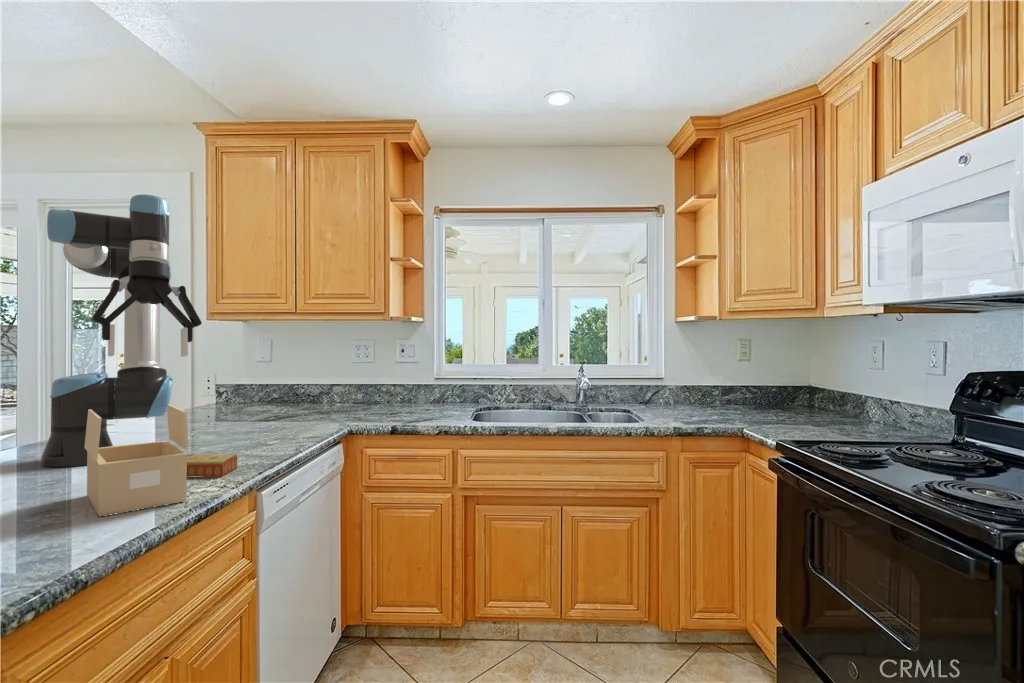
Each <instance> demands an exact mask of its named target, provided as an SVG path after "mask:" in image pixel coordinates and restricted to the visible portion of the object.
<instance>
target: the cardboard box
mask: <svg viewBox="0 0 1024 683" xmlns="http://www.w3.org/2000/svg"><path fill="white" fill-rule="evenodd" d="M187 455H188V453H186V452H184V451H183V450H182V449H181V448H178V447H177V446H176V445H174V444H173V443H171V442H170V441H168V440H158V441H150V442H140V443H131V444H121V445H113V446H110V447H101V448H99V450H98V460H96V461H94V460H93V458H92V457H91V456H90V454H89V453H88V452H87V465H86V468H87V469H86V497H87V499H88V498H89V499H88V500H90V501H89V502H90V504H91V506H92V508H93V507H94V508H93V510H94V509H95V510H94V511H96V512H95V513H96V515H97V514H98V515H97V517H98V516H99V517H100V518H102V517H101V516H105V515H110V514H115V513H122V514H124V513H123V512H127V511H133V510H137V509H142V508H143V509H144V508H149V507H154V506H160V505H165V504H171V503H177V504H180V503H179V502H183V503H185V502H184V501H186V502H187V485H188V484H187V482H188V481H187V479H188V477H187ZM149 509H150V508H149ZM144 510H145V509H144ZM133 512H134V511H133ZM127 513H128V512H127ZM99 517H98V518H99ZM105 517H106V516H105Z"/></svg>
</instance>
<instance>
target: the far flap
mask: <svg viewBox="0 0 1024 683" xmlns="http://www.w3.org/2000/svg"><path fill="white" fill-rule="evenodd" d="M166 414H167V425H168V426H167V427H168V428H167V429H168V439H169V440H170V441H172V442H173V443H175V444H177V445H178V446H179V447H181V448H182V449H184V450H189V449H190V448H189V447H190V446H189V434H188V432H189V431H188V418H187V415H188V414H187V411H186V410H183V409H181V408H180V407H177V406H175V405H173V404H170V403H169V404H167V412H166Z"/></svg>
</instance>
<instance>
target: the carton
mask: <svg viewBox="0 0 1024 683" xmlns="http://www.w3.org/2000/svg"><path fill="white" fill-rule="evenodd" d="M237 469H238V455H237V454H233V453H232V454H228V453H227V454H187V476H204V477H203V478H221V477H220V476H224V477H226V476H227V475H229V474H231V473H233V472H234V471H236V470H237ZM230 472H231V473H230ZM228 473H229V474H228ZM225 475H226V476H225ZM205 476H206V477H205Z"/></svg>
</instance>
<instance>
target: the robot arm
mask: <svg viewBox="0 0 1024 683" xmlns="http://www.w3.org/2000/svg"><path fill="white" fill-rule="evenodd" d="M129 200H130V201H129V208H128V210H129V217H124V216H123V217H122V216H118V215H117V216H115V215H107V214H99V213H92V212H85V211H76V210H75V211H74V210H71V209H57V208H53V209H50V210H49V211H48V212H47V217H46V218H47V219H46V232H47V234H46V235H47V239H48V240H49V241H50V242H53V243H57V244H63V246H62V247H63V248H62V252H63V255H64V258H65V259H66V261H67V262H68V263H69V264H70V265H72V266H73V267H75V268H77V269H78V270H80V271H81V272H85V273H87V274H90V275H93V276H97V277H101V278H110V279H112V278H113V281H112V282H111V284H110V287H109V288H110V289H109V292H108V294H107V295H106V297H105V298H104V299H103V301H102V303H101V304H100V305H99V307H98V308H97V310H96V311H95V312H94V314H92V316H91V320H90V321H91V322H92V323H96V324H99V325H101V339H102V340H103V341H107V357H113V356H115V354H116V353H115V352H116V351H115V347H116V346H115V344H116V341H115V339H116V334H115V333H116V324H115V323H113V324H111V323H112V322H113V321H114V320H115V319H116V318H118V317H119V316H120V315H121V314H122V313H124V322H123V324H124V328H123V330H124V336H123V337H124V340H123V342H124V344H123V345H124V348H123V351H124V353H123V357H124V358H123V366H122V367H120V368H119V369H118V370H117V372H116V373H117V376H116V377H115V376H114V377H109V374H108V373H107V372H106V371H105V372H101V371H100V372H92V373H83V374H77V375H68V376H63V377H59V378H57V379H55V380H54V381H53V382H52V384H51V393H50V395H49V397H50V399H51V405H50V406H51V407H50V409H51V411H50V435H49V438H48V440H47V442H46V445H45V448H44V450H43V452H42V454H41V459H40V460H41V466H43V467H48V468H67V467H80V466H87V450H86V449H85V448H84V447H85V437H86V427H87V417H88V409H91V410H93V411H94V412H95V413H96V414H97V415H98V416H100V417H101V418H102V420H101V430H100V440H99V448H101V447H110V446H114V445H113V442H112V440H111V437H110V435H109V433H108V425H107V424H108V421H109V420H124V419H125V420H126V419H141V418H143V419H145V418H146V419H149V418H156V417H162V416H165V415H166V414H167V404H170V403H171V402H170V401H171V395H172V389H173V379H174V378H173V376H171V375H167V372H168V371H167V369H166V368H165V367H164V366H163V365H161V319H160V318H161V312H160V311H161V310H160V309H161V308H160V306H162V307H163V308H165V309H166V310H167V311H168V312H169V313H170V314H171V315H172V316H173V317H174V318H175V319H176V320H177V322H178V323H180V325H182V327H183V328H181V329H180V357H181V358H184V357H187V356H188V353H189V352H188V351H189V348H188V346H189V344H188V343H191V342H193V339H194V338H193V330H194V329H193V328H197V327H199V326H201V324H202V320H201V318H200V317H199V314H198V313H197V312H196V310H195V308H194V306H193V305H192V303H191V300H190V299H189V297H188V295H187V289H186V286H185V285H180V286H171V283H170V281H171V280H172V270H171V260H170V216H171V213H170V204H169V202H168V201H167V200H166V199H164V198H163V197H160V196H157V195H152V194H144V193H143V194H135V195H133V196H131V198H130V199H129ZM123 290H124V302H122V303H121V304H120V305H119V306H118V307H117V308H116V309H115V310H113V311H112V312H111V313H110V314H109V315H107V316H106V317H103V315H104V314H105V312H106V310H107V309H108V307H109V306H110V304H112V302H113V300H114V298H116V296H117V294H118V292H120V293H121V292H122V291H123ZM171 293H173V294H174V296H175V297H177V299H178V301H179V303H180V304H181V306H182V308H183V309H184V312H185V314H186V315H187V316H186V315H185V314H184V313H183V312H182V311H181V310H180V308H178V306H177V305H175V303H174V302H173V300H172V299H171V298H170V297H169V295H170V294H171Z"/></svg>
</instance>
